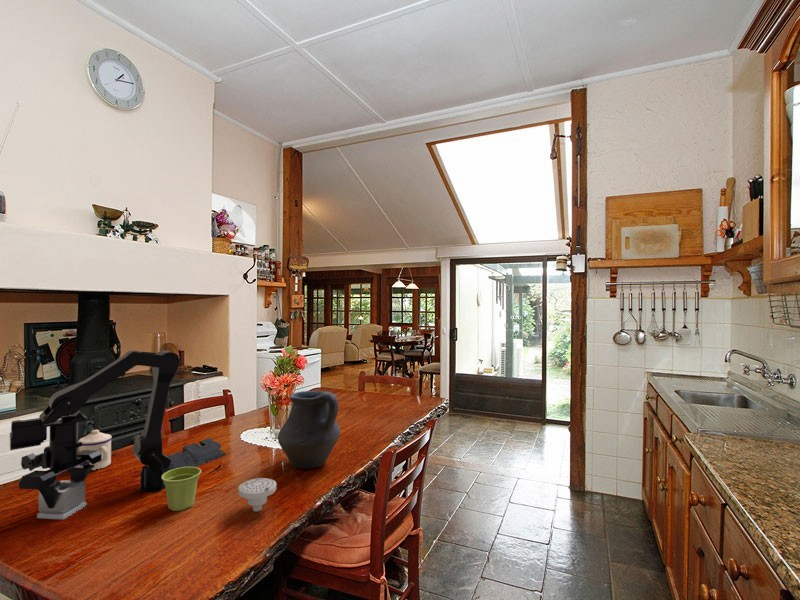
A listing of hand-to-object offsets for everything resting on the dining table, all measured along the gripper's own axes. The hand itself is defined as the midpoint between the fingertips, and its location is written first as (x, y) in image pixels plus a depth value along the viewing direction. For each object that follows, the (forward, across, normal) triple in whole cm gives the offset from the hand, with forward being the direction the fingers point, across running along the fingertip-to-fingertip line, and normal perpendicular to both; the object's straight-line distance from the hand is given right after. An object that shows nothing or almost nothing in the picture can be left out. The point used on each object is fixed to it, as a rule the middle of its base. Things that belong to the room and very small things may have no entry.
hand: (63, 501), depth 108 cm
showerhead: (+3, -6, +49) cm, 49 cm away
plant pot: (+3, -6, +28) cm, 29 cm away
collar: (+1, 0, 0) cm, 1 cm away
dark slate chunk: (+3, -37, +12) cm, 39 cm away
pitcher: (+3, -38, +54) cm, 66 cm away
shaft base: (+3, 0, 0) cm, 3 cm away
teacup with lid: (+3, -28, -14) cm, 31 cm away
